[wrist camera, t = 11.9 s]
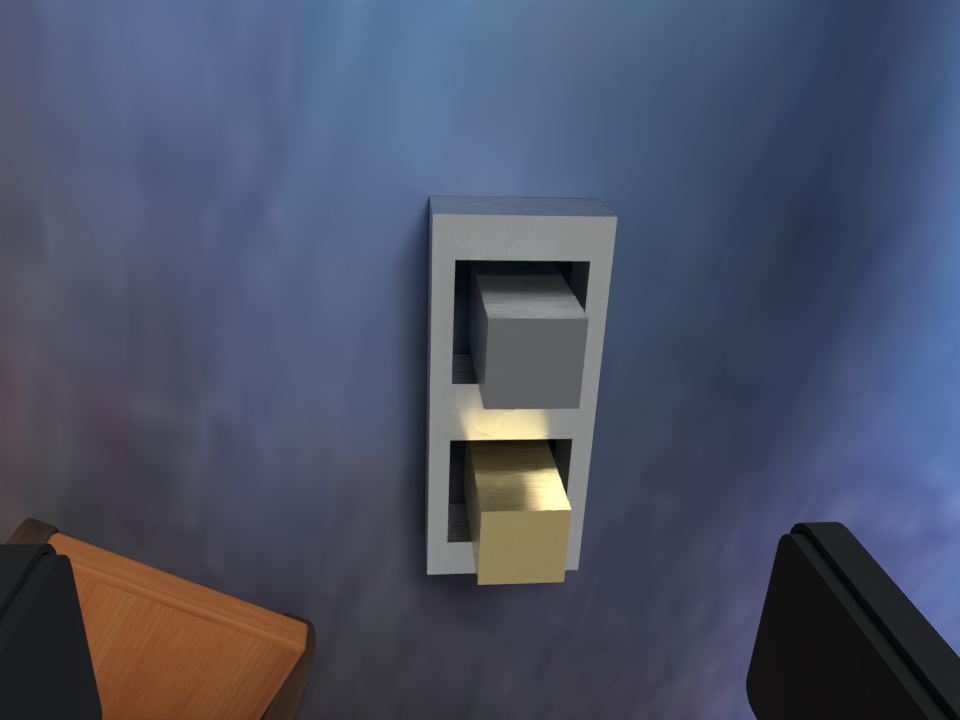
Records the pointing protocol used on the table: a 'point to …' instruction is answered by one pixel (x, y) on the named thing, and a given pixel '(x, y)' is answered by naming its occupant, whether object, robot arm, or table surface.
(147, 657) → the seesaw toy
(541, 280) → the seated steel block
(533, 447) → the brass block
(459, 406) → the grey block holder tray
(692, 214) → the table surface
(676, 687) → the table surface
